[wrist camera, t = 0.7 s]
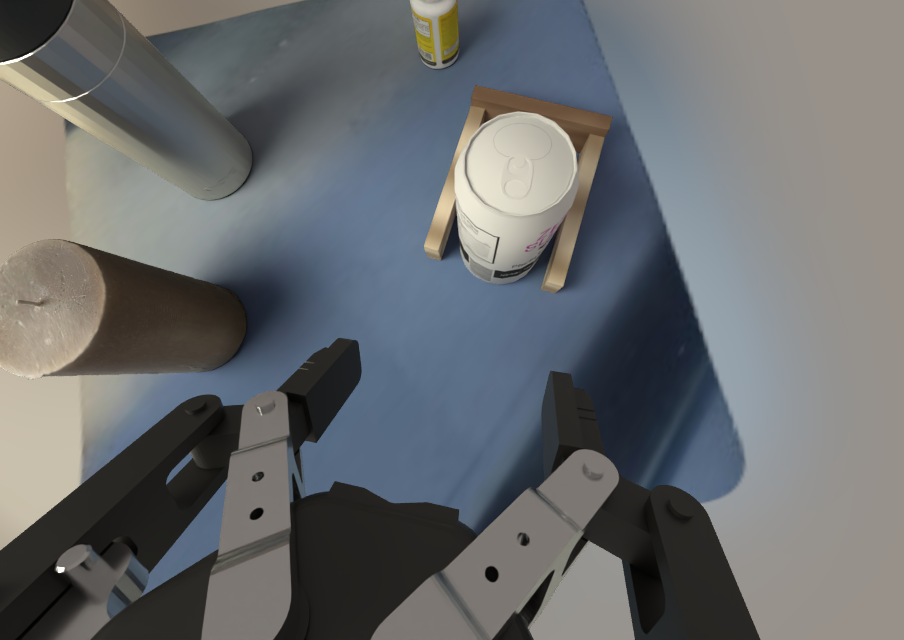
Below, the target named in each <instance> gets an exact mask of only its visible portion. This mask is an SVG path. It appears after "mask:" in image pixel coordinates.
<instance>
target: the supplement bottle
mask: <svg viewBox="0 0 904 640" xmlns="http://www.w3.org/2000/svg"><path fill="white" fill-rule="evenodd" d="M410 4H411V10H412V16H413V21H414V27H415V33H416V38H417V44H418V49H419V55H420V58H421V60H422V62H423V63H424V64H425V65H426V66H428V67H430V68H433V69H442V68H446V67H448V66H450V65H451V64H453V63H454V62H455V60H456V59H457V57H458V54H459V31H458V8H457V0H410Z"/></svg>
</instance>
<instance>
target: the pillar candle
mask: <svg viewBox="0 0 904 640" xmlns="http://www.w3.org/2000/svg"><path fill="white" fill-rule="evenodd" d="M246 324H247V320H246V313H245V310H244V307H243V305H242V303H241V301H240V300H239V299H238V297H236V295H235V294H234V293H233V292H232V291H230V290H229V289H224V288H221V287H219V286H217V285H214V284H212V283H209V282H205V281H202V280H198V279H194V278H192V277H188V276H185V275H181V274H178V273H174V272H172V271H167V270H164V269H161V268H157V267H154V266H150V265H147V264H143V263H140V262H137V261H134V260H130V259H127V258H124V257H120V256H117V255H114V254H111V253H108V252H104V251H101V250H98V249H94V248H91V247H88V246H85V245H81V244H77V243H74V242H70V241H66V240H60V239H52V240H43V241H38V242H35V243H32V244H30V245H27V246H25V247H23V248H21V249H20V250H18V251H16V252H15V253H13V254H12V255H11V256H10V257H9V258H7V259H6V260H5V261H4V263H3V264H1V265H0V368H2V369H4V370H6V371H9V372H11V373H13V374H14V375H18V376H24V377H25V376H26V377H28V379H30V378H31V379H36V378H40V377H43V376H77V375H119V374H158V373H189V372H203V371H211V370H214V369H216V368H218V367H220V366H222V365H223V364H225V363H226V362H228V361H229V360H230V359H231V358H232V357H233V356H234V354H235V353H236V352H237V350H238V349H239V347H240V345H241V343H242V341H243V338H244V336H245V333H246Z"/></svg>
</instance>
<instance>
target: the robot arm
mask: <svg viewBox="0 0 904 640" xmlns="http://www.w3.org/2000/svg"><path fill="white" fill-rule="evenodd" d="M0 79H1V80H2V81H4V82H5V83H7V84H9V85H10V86H12V87H14V88H15V89H17V90H19V91H20V92H22V93H24V94H25V95H27V96H29V97H31V98H32V99H34V100H36V101H37V102H39V103H40V104H42V105H44V106H45V107H47V108H49V109H50V110H52V111H54V112H55V113H57V114H59V115H61V116H62V117H63V118H65V119H67V120H68V121H70V122H72V123H73V124H75V125H77V126H78V127H80V128H82V129H83V130H85V131H86V132H88V133H90V134H91V135H93V136H95V137H96V138H98V139H100V140H101V141H103V142H105V143H106V144H108V145H109V146H111V147H113V148H114V149H116V150H118V151H119V152H121V153H123V154H124V155H126V156H128V157H129V158H131V159H133V160H134V161H136V162H137V163H139V164H141V165H142V166H144V167H146V168H147V169H149V170H151V171H152V172H154V173H156V174H157V175H159V176H160V177H162V178H164V179H165V180H167V181H169V182H170V183H172V184H174V185H175V186H177V187H178V188H180V189H182V190H183V191H185V192H187V193H188V194H190V195H192V196H194V197H196V198H199V199H203V200H214V199H220V198H223V197H225V196H228V195H229V194H231V193H233V192H234V191H235V190H237V189H238V188H239V187H240V186H241V185H242V184H243V182H244V181H245V180H246V178H247V176H248V174H249V172H250V169H251V165H252V152H251V148H250V146H249V143H248V142H247V140H246V139H245V138H244V137H243V136H242V135H241V134H240V133H239V132H238V131H237V130H236V129H235V128H234V127H233V125H232V124H231V123H230V122H229V121H228V120H227V119H226V118H225V117H224V116H223V115H222V114H221V113H220V112H219V111H218V110H217V109H216V108H215V107H214V106H213V105H212V104H211V103H210V102H209V101H208V100H207V99H206V98H205V97H204V96H203V95H202V94H201V93H200V92H199V91H198V90H197V89H196V88H195V87H194V86H193V85H192V84H191V83H190V82H189V81H188V80H187V79H186V78H185V77H184V76H183V75H182V74H181V73H180V72H179V71H178V70H177V69H176V68H175V67H174V66H173V65H172V64H171V63H170V62H169V61H168V60H167V59H166V58H165V57H164V56H163V55H162V54H161V53H160V52H159V51H158V50H157V49H156V48H155V47H154V46H153V45H152V44H151V43H150V42H149V41H148V40H147V39H146V38H145V37H144V36H143V35H142V34H141V33H140V32H139V31H138V30H137V29H136V28H135V27H134V26H133V25H132V24H131V23H130V22H129V21H128V20H127V19H126V18H125V17H124V16H123V15H122V14H121V13H120V12H119V11H118V10H117V9H116V8H115V7H114V6H113V5H112V4H111V3H110V2H109V1H108V0H0ZM361 372H362V369H361V361H360V352H359V344H358V342H357V341H356V340H350V339H344V338H338V339H337V340H336V341H335V342H334V343H333V344H332V345H331V346H330V347H329V348H326V347H325V348H323V349H321V350H319V351H318V352H316V353H314V354H313V355H312V356H311V357H310V358H309V359H308V360H307V361H306V363H304V364H303V365H302V366H301V367H300V369H298V370H297V371H296V372H295V373H294V374H293V375H292V376H291V377H290V378H289V379H288V380H287V381H286V382H285V383H284V384H283V385H282V386H281V387H280V388H279V389H278V390H277V391H269V392H264V393H261V394H258V395H256V396H254V397H253V398H251V399H250V400H249V401H248V402H247V403H246V404H245V405H232V406H223V405H222V402H221V400H220V398H219V397H218V396H216V395H201V396H197V397H193V398H191V399H189V400H187V401H185V402H183V403H181V404H180V405H179V406H177V407H176V408H175V409H174V410H173V411H171V412H170V413H169V414H168V415H166V416H165V417H164V418H163V419H161V420H160V421H159V422H158V423H157V424H155V425H154V426H153V427H152V428H150V429H149V430H148V431H147V432H145V433H144V434H143V435H142V436H141V437H139V438H138V439H137V440H136V441H134V442H133V443H132V444H131V445H130V446H128V447H127V448H126V449H125V450H123V451H122V452H121V453H120V454H118V455H117V456H116V457H115V458H114V459H112V460H111V461H110V462H109V463H107V464H106V465H105V466H104V467H102V468H101V469H100V470H99V471H98V472H96V473H95V474H94V475H93V476H91V477H90V478H89V479H88V480H87V481H85V482H84V483H83V484H82V485H80V486H79V487H78V488H77V489H75V490H74V491H73V492H72V493H71V494H69V495H68V496H67V497H66V498H64V499H63V500H62V501H61V502H60V503H58V504H57V505H56V506H55V507H53V508H52V509H51V510H50V511H48V512H47V513H46V514H45V515H44V516H42V517H41V518H40V519H39V520H37V521H36V522H35V523H34V524H33V525H31V526H30V527H29V528H28V529H26V530H25V531H24V532H23V533H21V534H20V535H19V536H18V537H17V538H15V539H14V540H13V541H12V542H10V543H9V544H8V545H7V546H5V547H4V548H3V549H2V550H1V551H0V640H534V639H533V637H532V635H531V633H530V631H529V629H530V628H531V626H532V625H533V624H534V622H535V621H536V619H537V618H538V617H539V615H540V614H541V613H542V611H543V610H544V608H545V606H546V605H547V604H548V602H549V600H550V599H551V597H552V596H553V594H554V592H555V590H556V588H557V587H558V586H559V584H560V582H561V581H562V580H563V578H564V577H565V575H566V574H567V573H568V571H569V570H570V569H571V567H572V566H573V564H574V563H575V562H576V560H577V559H578V558H579V556H580V555H581V553H582V552H583V551H584V549H585V548H586V547H587V545H588V544H589V542H592V543H594V544H596V545H598V546H599V547H601V548H603V549H605V550H606V551H608V552H610V553H612V554H613V555H615V556H617V557H619V558H621V559H622V564H623V569H624V576H625V582H626V588H627V594H628V599H629V606H630V612H631V618H632V623H633V630H634V636H635V640H760V638H759V635H758V633H757V630H756V628H755V626H754V623H753V621H752V619H751V616H750V614H749V611H748V609H747V607H746V604H745V602H744V599H743V597H742V594H741V592H740V590H739V587H738V585H737V582H736V580H735V578H734V575H733V573H732V571H731V568H730V566H729V563H728V561H727V559H726V556H725V554H724V552H723V549H722V547H721V544H720V542H719V539H718V537H717V535H716V532H715V530H714V528H713V525H712V523H711V520H710V518H709V516H708V514H707V512H706V510H705V509H704V507H703V506H702V505H701V504H700V503H699V502H698V501H697V500H696V499H695V498H694V497H692V496H691V495H690V494H688V493H687V492H685V491H683V490H681V489H679V488H677V487H673V486H669V485H660V486H657V487H655V488H654V489H653V490H652V491H649V490H647V489H645V488H643V487H641V486H639V485H636V484H634V483H632V482H630V481H628V480H626V479H625V478H623V477H622V476H621V475H619V474H618V472H617V469H616V467H615V466H614V465H613V463H612V462H611V461H610V460H609V459H608V458H606V456H605V452H604V448H603V444H602V440H601V436H600V432H599V428H598V423H597V422H596V420H597V419H596V415H595V413H594V407H593V403H592V399H591V398H590V397H589V396H588V394H587V393H586V392H585V390H584V389H578V388H573V382H572V377H571V374H568V373H561V372H555V371H550V374H549V377H548V382H547V386H546V390H545V394H544V399H543V404H542V438H543V460H544V481H545V482H544V483H543V484H542V485H541V486H540V487H539V488H537V489H534V488H533V487H530V488H528V489H527V490H526V491H525V492H523V493H522V494H521V495H520V496H519V497H518V498H517V499H516V500H515V501H514V502H513V503H512V504H511V505H510V506H509V507H508V508H507V509H506V510H505V511H504V512H503V513H502V514H501V515H500V516H499V517H498V518H497V519H496V520H495V521H494V522H493V523H492V524H490V525H489V526H488V527H487V528H486V529H485V530H484V531H483V532H482V533H481V534H480V535H479V536H478V535H477V534H476V533H475V532H474V531H473V530H472V529H470V528H469V527H468V526H466V525H465V524H463V523H462V522H460V521H458V518H459V510H458V509H454V508H449V507H445V506H441V505H436V504H432V503H428V502H424V503H390V502H388V501H386V500H385V499H383V498H381V497H379V496H377V495H376V494H374V493H372V492H370V491H369V490H367V489H365V488H362V487H358V486H353V485H349V484H345V483H340V482H336V481H335V482H334V484H333V485H332V487H331V489H330V491H328V492H320V493H316V494H312V495H309V496H306V492H305V482H304V471H303V461H302V451H301V447H300V446H301V445H302V444H303V442H304V441H310V442H315V443H317V441H318V440H319V439H320V437H321V436H322V434H323V433H324V431H325V430H326V429H327V427H328V426H329V424H330V423H331V421H332V420H333V419H334V417H335V416H336V414H337V413H338V411H339V410H340V409H341V407H342V406H343V404H344V403H345V401H346V400H347V399H348V397H349V396H350V394H351V393H352V392H353V390H354V389H355V387H356V386H357V384H358V383H359V381H360V378H361ZM189 453H190V454H191V455H192V457H193V458H192V459H191V460H190V462H189V463H188V464H187V465H186V466H185V467H184V468H183V469H182V470H181V471H180V472H179V473H178V474H177V475H176V476H175V477H174V478H173V479H172V480H171V481H170V482H169V483H168V484H167V485H166V480H167V477H168V475H169V473H170V472H171V471H172V469H173V468H174V467H175V466H176V465H177V464H178V463H179V462H180V461H181V460H182V459H184V458H185V457H186V456H187V455H188V454H189ZM227 478H228V479H227ZM226 479H227V487H226V495H225V503H224V511H223V519H222V527H221V535H220V543H219V549H218V550H216V551H214V552H213V553H211V554H210V555H208V556H206V557H205V558H203V559H201V560H200V561H198V562H197V563H195V564H193V565H192V566H190V567H189V568H187V569H185V570H184V571H182V572H181V573H179V574H177V575H176V576H174V577H172V578H171V579H169V580H168V581H166V582H164V583H163V584H161V585H160V586H158V587H156V588H155V589H153V590H152V591H150V592H148V593H147V594H145V595H144V596H142V597H140V596H141V595H142V593H143V592H144V590H145V588H146V585H147V583H148V578H149V573H150V572H151V571H152V570H153V568H154V567H155V566H156V565H157V563H158V562H159V561H160V560H161V559H162V557H163V556H164V555H165V554H166V552H167V551H168V550H169V549H170V548H171V546H172V545H173V544H174V543H175V541H176V540H177V539H178V538H179V537H180V535H181V534H182V533H183V532H184V531H185V529H186V528H187V527H188V526H189V524H190V523H191V522H192V521H193V520H194V518H195V517H196V516H197V515H198V513H199V512H200V511H201V510H202V509H203V507H204V506H205V505H206V504H207V502H208V501H209V500H210V499H211V498H212V496H213V495H214V494H215V493H216V492H217V490H218V489H219V488H220V487H221V485H222V484H223V483H224V482H225V481H226Z"/></svg>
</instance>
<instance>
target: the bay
mask: <svg viewBox="0 0 904 640" xmlns="http://www.w3.org/2000/svg"><path fill="white" fill-rule="evenodd" d="M518 111H519V112H527V113H536V114H539V115H541V116H543V117H545V118H548V119H550V120H552V121H554V122H555V123H556V124H557V125H558V126H559V127H561V128H562V129H563V130H564V131H565V132H566V133H567V134H568V136H569V138H570V140H571V142H572V144H573V147H574V149H575V151H576V152H578V153H580V155H579V159H578V162H577V164H578V174H579V187H578V190H577V193H576V196H575V199H574V202H573V205H572V206H571V208H570V210H569V211H568V213H567V214H566V216H565V217H564V219H563V221H562V222H561V224H560V225H559V228H558V232H557V235H556V239H555V242H554V246H553V249H552V253H551V256H550V260H549V263H548V267H547V270H546V274H545V277H544V281H543V284H542V287H541V289H542V290H545V291H549V292H552V293H556V292H557V291H558V290H560V289H561V288H562V287H563V285H564V282H565V278H566V275H567V271H568V267H569V264H570V260H571V257H572V253H573V249H574V246H575V242H576V239H577V235H578V232H579V228H580V224H581V221H582V217H583V214H584V210H585V206H586V203H587V199H588V196H589V192H590V189H591V185H592V181H593V178H594V174H595V171H596V167H597V163H598V160H599V156H600V153H601V149H602V146H603V142H604V138H605V136H606V134H607V133H608V131H609V128H610V125H611V121H612V116H607V115H603V114H599V113H594V112H590V111H586V110H581V109H577V108H573V107H568V106H564V105H560V104H555V103H551V102H547V101H542V100H538V99H534V98H529V97H525V96H521V95H516V94H512V93H508V92H503V91H499V90H495V89H490V88H486V87H482V86H477V85H475V88H474V91H473V94H472V97H471V108H470V111H469V114H468V117H467V120H466V123H465V126H464V129H463V131H462V134H461V137H460V140H459V143H458V146H457V149H456V152H455V155H454V158H453V161H452V164H451V167H450V170H449V173H448V176H447V179H446V182H445V185H444V188H443V191H442V194H441V197H440V200H439V203H438V206H437V209H436V212H435V215H434V218H433V221H432V224H431V227H430V230H429V233H428V236H427V239H426V242H425V245H424V249H425V251H426V254H427V256H428V257H430V258H434V259H437V260H441V259H442V256H443V253H444V250H445V247H446V243H447V240H448V237H449V234H450V231H451V228H452V225H453V222H454V219H455V216H456V213H457V210H456V199H455V166H456V164H457V161H458V159H459V156H460V154H461V151H462V149H463V148H464V147H465V146H466V145H467V144H468V142H469V139H470V138H471V137H472V136H473V134H474V133H475V132H476V131H477V130H478V129H479V128H480V127H481V125H482V124H484V123H486V122H488V121H489V120H491V119H493V118H495V117H497V116H498V115H502V114H507V113H513V112H518Z"/></svg>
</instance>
